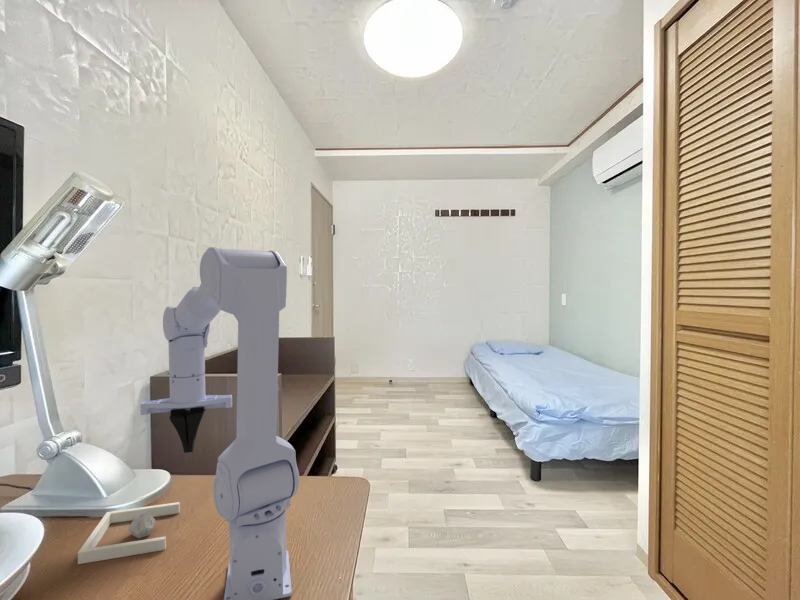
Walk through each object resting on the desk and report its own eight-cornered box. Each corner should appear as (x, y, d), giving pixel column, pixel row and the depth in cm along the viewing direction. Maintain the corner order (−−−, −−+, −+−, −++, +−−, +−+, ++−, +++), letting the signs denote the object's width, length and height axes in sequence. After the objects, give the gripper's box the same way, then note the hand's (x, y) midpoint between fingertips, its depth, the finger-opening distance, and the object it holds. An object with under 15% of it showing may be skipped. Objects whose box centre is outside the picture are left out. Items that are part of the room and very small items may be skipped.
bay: (165, 549, 64) (164, 539, 64) (77, 564, 61) (77, 553, 61) (180, 511, 76) (179, 501, 76) (107, 521, 72) (106, 512, 72)
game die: (159, 527, 71) (158, 509, 71) (149, 540, 67) (148, 521, 67) (135, 529, 70) (135, 510, 70) (124, 542, 67) (124, 523, 67)
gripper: (232, 368, 83) (234, 438, 83) (147, 373, 79) (149, 447, 79) (229, 375, 76) (231, 451, 77) (136, 380, 72) (138, 462, 72)
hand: (189, 450), depth 77 cm, fingers closed
